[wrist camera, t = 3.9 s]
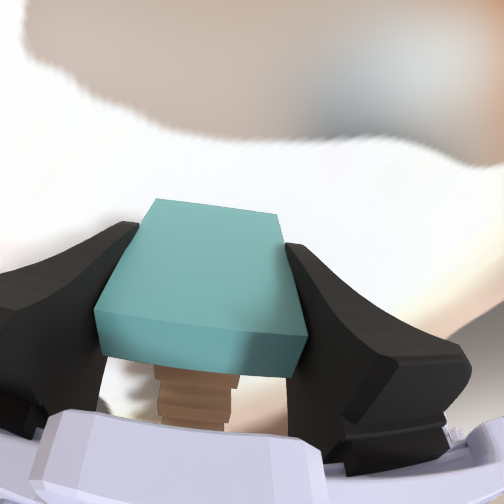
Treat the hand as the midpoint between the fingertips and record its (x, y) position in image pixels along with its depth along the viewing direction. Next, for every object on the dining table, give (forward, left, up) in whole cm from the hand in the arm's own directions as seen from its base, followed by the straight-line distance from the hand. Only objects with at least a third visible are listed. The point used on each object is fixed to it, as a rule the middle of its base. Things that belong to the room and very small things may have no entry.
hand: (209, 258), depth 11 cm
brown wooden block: (-7, +12, -9) cm, 17 cm away
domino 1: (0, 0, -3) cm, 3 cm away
